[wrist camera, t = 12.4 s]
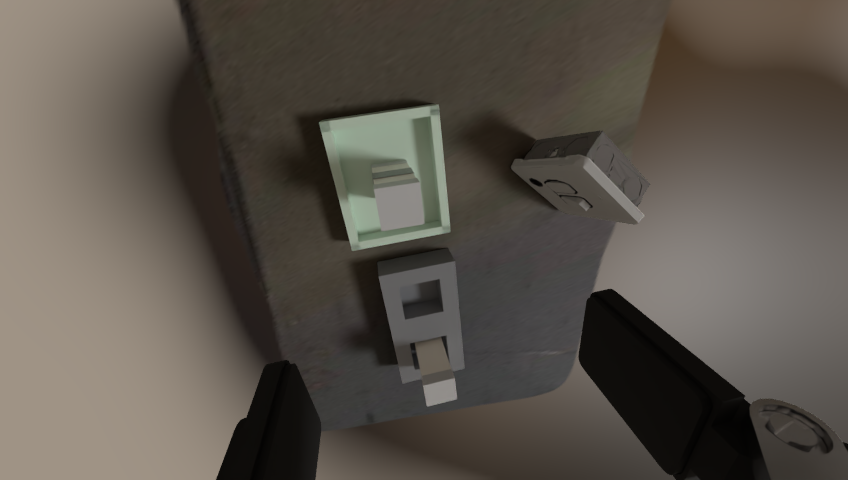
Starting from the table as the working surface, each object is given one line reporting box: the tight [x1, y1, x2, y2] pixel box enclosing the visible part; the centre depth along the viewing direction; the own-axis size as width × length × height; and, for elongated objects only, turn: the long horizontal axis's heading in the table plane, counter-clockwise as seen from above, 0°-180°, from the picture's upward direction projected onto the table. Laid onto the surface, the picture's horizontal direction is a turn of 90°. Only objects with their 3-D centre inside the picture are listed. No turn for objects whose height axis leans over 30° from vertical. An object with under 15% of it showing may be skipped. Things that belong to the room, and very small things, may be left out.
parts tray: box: [319, 104, 451, 251], centre depth 30 cm, size 12×10×2 cm
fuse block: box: [377, 248, 465, 383], centre depth 37 cm, size 16×8×3 cm, turn 7°
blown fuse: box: [371, 160, 425, 231], centre depth 26 cm, size 3×3×8 cm
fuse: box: [414, 337, 457, 406], centre depth 36 cm, size 3×3×8 cm
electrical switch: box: [511, 131, 650, 224], centre depth 29 cm, size 9×5×9 cm, turn 53°
